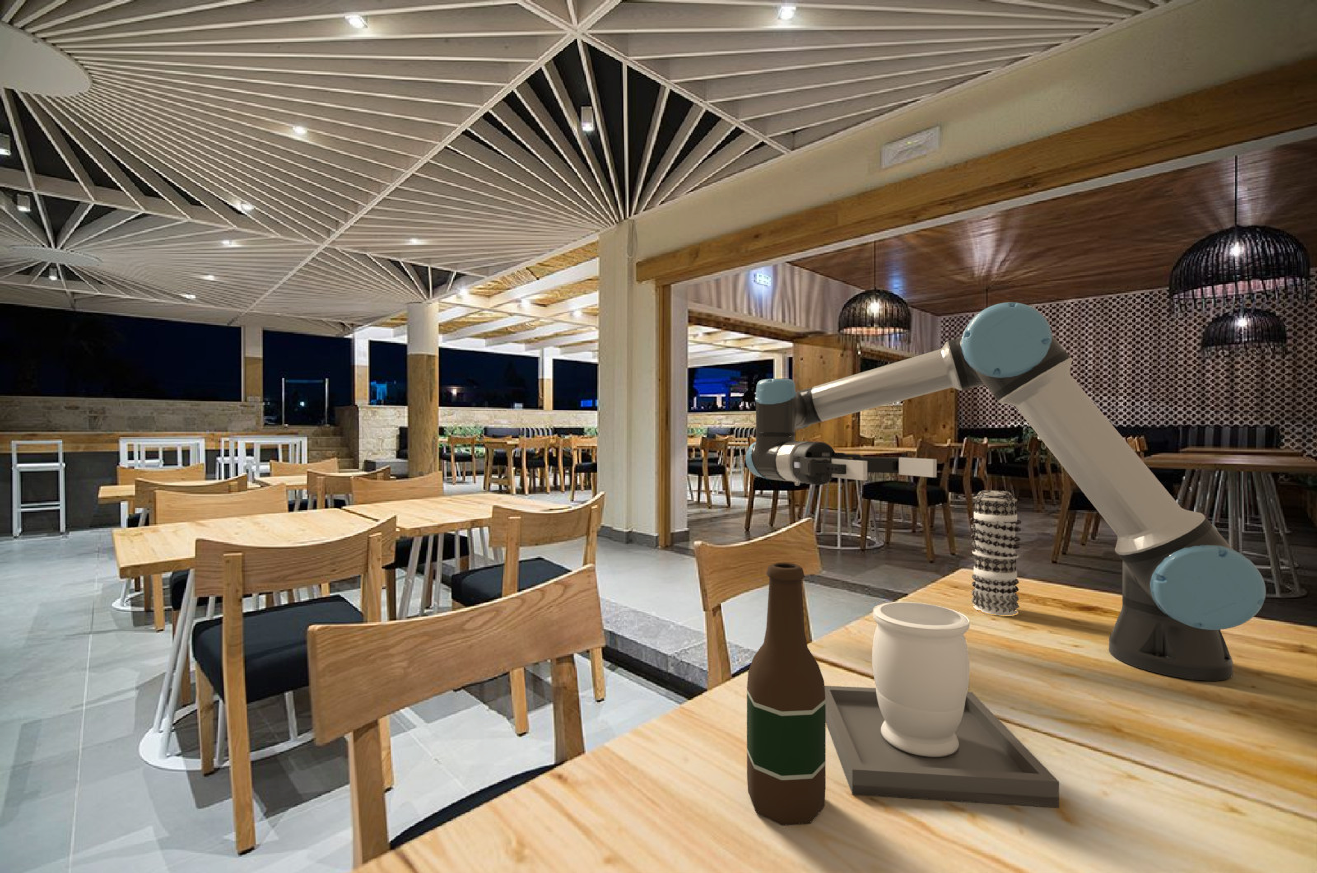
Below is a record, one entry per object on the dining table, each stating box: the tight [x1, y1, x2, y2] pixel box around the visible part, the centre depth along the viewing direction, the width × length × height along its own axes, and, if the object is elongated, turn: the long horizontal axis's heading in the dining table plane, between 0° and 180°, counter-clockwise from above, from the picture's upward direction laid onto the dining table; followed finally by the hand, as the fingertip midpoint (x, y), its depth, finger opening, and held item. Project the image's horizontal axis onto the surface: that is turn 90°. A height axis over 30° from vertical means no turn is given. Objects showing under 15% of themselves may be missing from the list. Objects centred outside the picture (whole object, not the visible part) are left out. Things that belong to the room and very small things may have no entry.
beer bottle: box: [746, 562, 827, 826], centre depth 59 cm, size 8×8×24 cm
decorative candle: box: [970, 490, 1022, 615], centre depth 122 cm, size 9×9×25 cm
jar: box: [871, 601, 970, 757], centre depth 69 cm, size 11×10×15 cm
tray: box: [824, 685, 1060, 808], centre depth 69 cm, size 20×20×3 cm
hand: (901, 469), depth 84 cm, fingers open, 13 cm apart
